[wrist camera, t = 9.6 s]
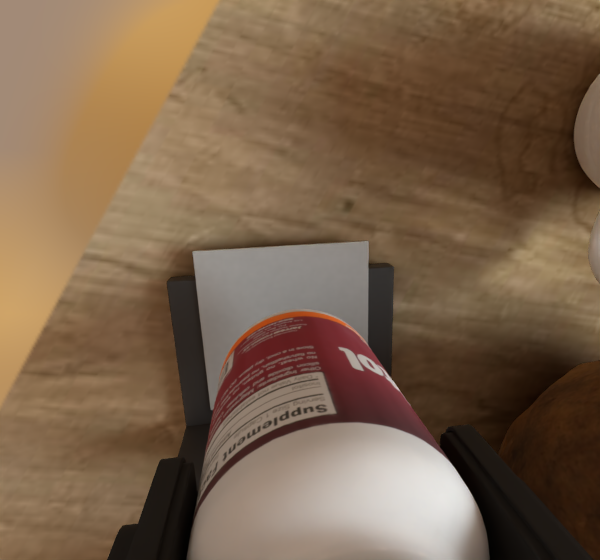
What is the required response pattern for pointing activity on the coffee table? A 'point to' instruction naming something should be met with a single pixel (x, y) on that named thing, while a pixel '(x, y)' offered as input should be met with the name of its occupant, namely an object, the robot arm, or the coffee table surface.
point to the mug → (590, 158)
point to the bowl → (563, 452)
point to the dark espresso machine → (267, 311)
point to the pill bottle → (324, 457)
